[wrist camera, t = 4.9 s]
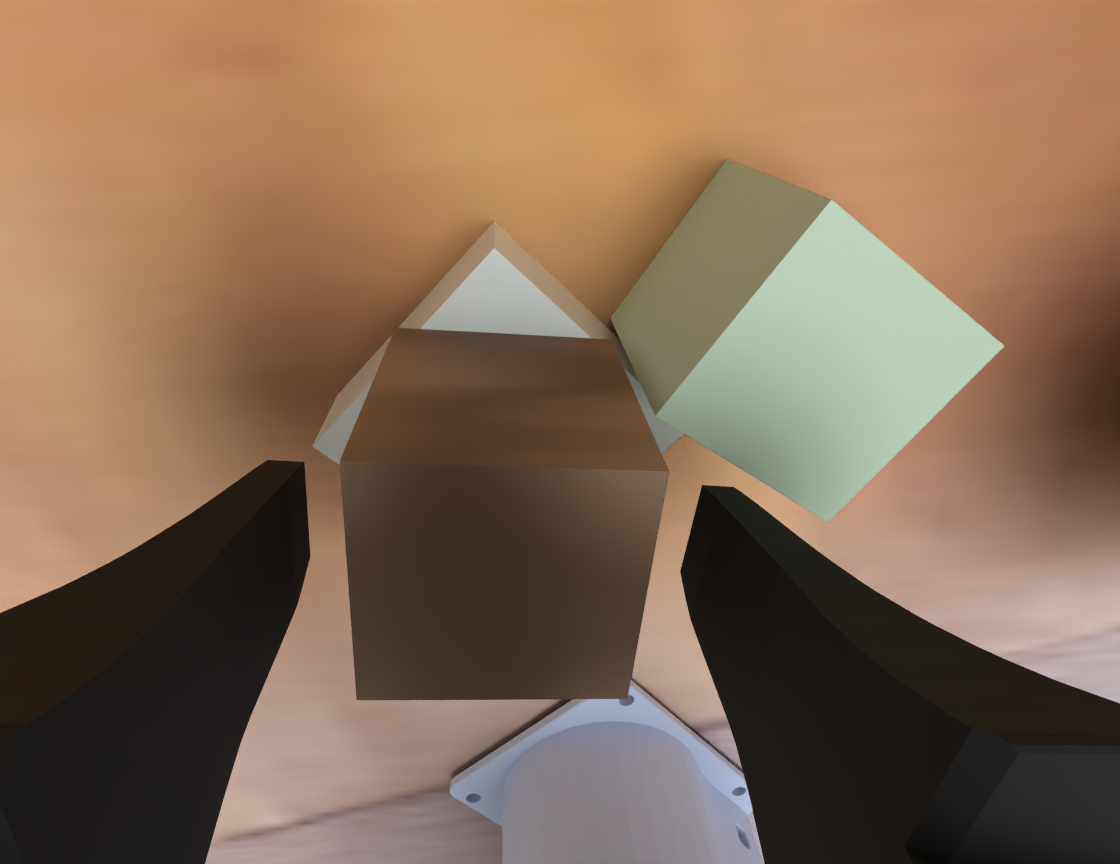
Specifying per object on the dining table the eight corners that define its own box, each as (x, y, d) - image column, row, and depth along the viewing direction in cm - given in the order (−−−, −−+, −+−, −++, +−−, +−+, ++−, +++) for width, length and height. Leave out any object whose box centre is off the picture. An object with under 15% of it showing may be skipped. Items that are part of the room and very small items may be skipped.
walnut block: (611, 339, 14) (668, 471, 10) (589, 515, 16) (627, 698, 12) (395, 327, 14) (339, 460, 9) (399, 511, 16) (356, 700, 11)
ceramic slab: (661, 376, 18) (689, 428, 16) (509, 515, 20) (512, 583, 17) (494, 218, 16) (494, 247, 13) (339, 390, 18) (312, 446, 15)
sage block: (859, 266, 17) (1004, 345, 12) (741, 404, 19) (827, 522, 14) (726, 158, 16) (831, 199, 11) (610, 317, 17) (655, 415, 12)
